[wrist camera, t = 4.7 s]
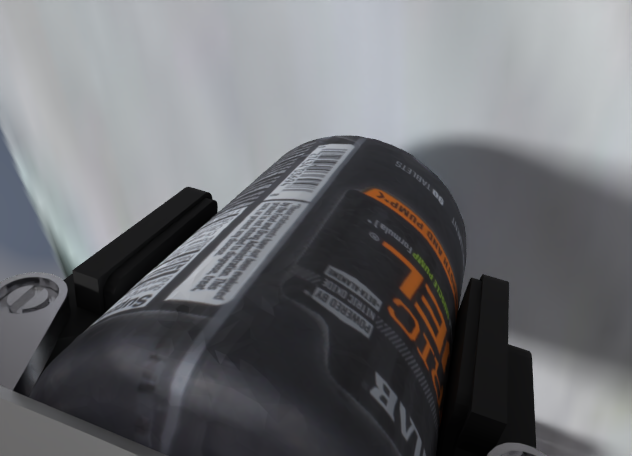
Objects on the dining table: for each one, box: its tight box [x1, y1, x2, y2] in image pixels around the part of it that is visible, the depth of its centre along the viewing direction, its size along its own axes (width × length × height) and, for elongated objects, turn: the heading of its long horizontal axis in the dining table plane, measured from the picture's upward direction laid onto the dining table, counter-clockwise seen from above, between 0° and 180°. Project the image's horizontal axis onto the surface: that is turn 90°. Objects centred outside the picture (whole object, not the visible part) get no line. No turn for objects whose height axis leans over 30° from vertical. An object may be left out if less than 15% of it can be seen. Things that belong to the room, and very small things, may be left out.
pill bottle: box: [29, 136, 466, 456], centre depth 9 cm, size 6×6×11 cm
